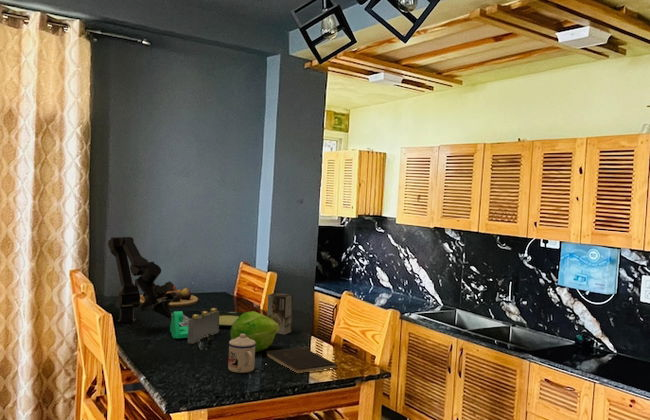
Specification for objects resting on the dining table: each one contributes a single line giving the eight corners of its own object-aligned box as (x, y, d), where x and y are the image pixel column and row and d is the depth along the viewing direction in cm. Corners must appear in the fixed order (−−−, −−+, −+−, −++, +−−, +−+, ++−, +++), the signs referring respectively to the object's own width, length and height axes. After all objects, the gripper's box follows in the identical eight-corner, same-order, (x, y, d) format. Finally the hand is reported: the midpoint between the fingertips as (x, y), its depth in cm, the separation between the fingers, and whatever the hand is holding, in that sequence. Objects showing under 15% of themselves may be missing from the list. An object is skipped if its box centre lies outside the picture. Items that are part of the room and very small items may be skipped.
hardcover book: (296, 376, 181) (296, 369, 181) (265, 357, 200) (265, 351, 200) (337, 370, 189) (337, 363, 189) (303, 352, 209) (304, 346, 209)
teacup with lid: (222, 366, 185) (224, 332, 185) (247, 363, 190) (249, 329, 190) (237, 377, 175) (239, 341, 175) (263, 373, 180) (265, 338, 180)
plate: (271, 321, 257) (271, 316, 257) (237, 333, 231) (237, 327, 231) (221, 313, 268) (221, 308, 268) (183, 324, 243) (184, 318, 243)
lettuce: (287, 350, 209) (290, 319, 205) (240, 365, 198) (241, 332, 193) (268, 332, 220) (270, 302, 216) (222, 346, 209) (222, 314, 205)
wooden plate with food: (151, 295, 307) (152, 280, 307) (206, 299, 303) (207, 284, 303) (123, 305, 276) (123, 289, 276) (184, 310, 271) (184, 293, 271)
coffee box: (291, 332, 238) (293, 294, 238) (284, 335, 232) (286, 296, 232) (273, 328, 242) (275, 292, 241) (265, 331, 236) (267, 294, 236)
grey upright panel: (193, 343, 211) (194, 316, 211) (187, 343, 212) (188, 315, 212) (218, 332, 230) (219, 307, 230) (213, 331, 231) (214, 307, 231)
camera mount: (195, 339, 218) (196, 313, 218) (175, 341, 214) (176, 314, 214) (188, 332, 229) (189, 307, 228) (169, 333, 225) (170, 308, 225)
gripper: (148, 278, 218) (170, 309, 215) (174, 273, 236) (195, 301, 233) (130, 296, 221) (152, 327, 218) (157, 289, 238) (178, 317, 235)
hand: (170, 317), depth 226 cm, fingers closed
